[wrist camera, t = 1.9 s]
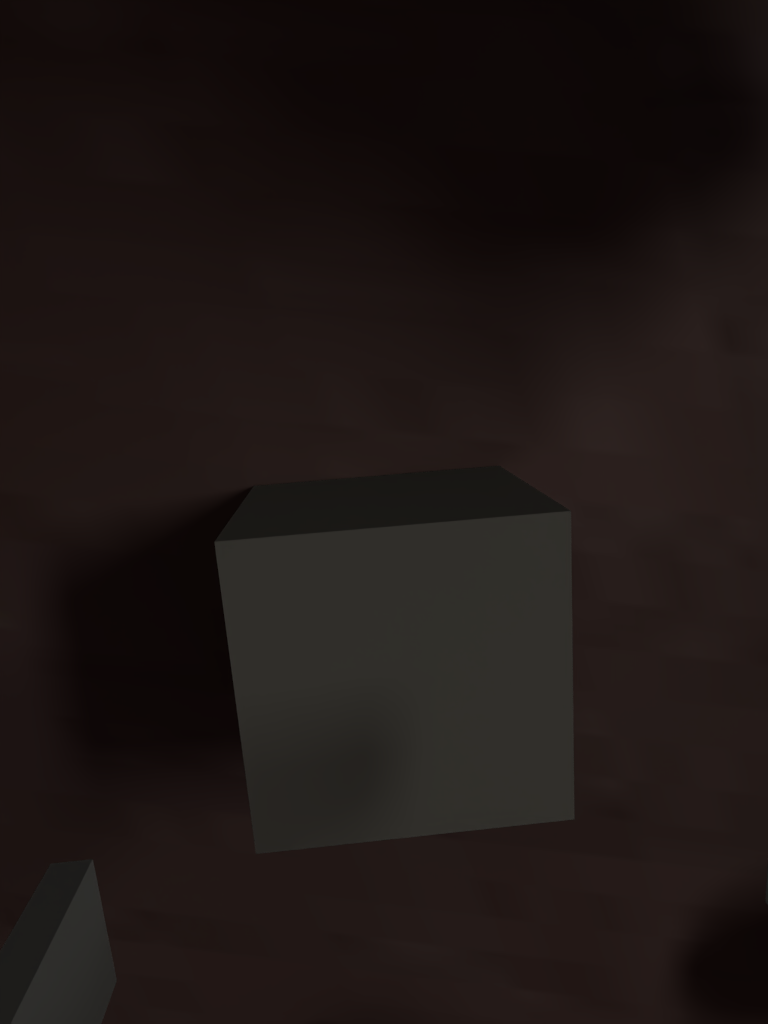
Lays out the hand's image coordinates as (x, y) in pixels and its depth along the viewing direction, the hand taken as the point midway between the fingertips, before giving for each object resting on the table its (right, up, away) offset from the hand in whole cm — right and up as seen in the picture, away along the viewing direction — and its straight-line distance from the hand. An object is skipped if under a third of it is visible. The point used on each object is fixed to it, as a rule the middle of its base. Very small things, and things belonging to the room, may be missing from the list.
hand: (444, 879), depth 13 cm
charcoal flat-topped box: (-1, +4, +16) cm, 16 cm away
